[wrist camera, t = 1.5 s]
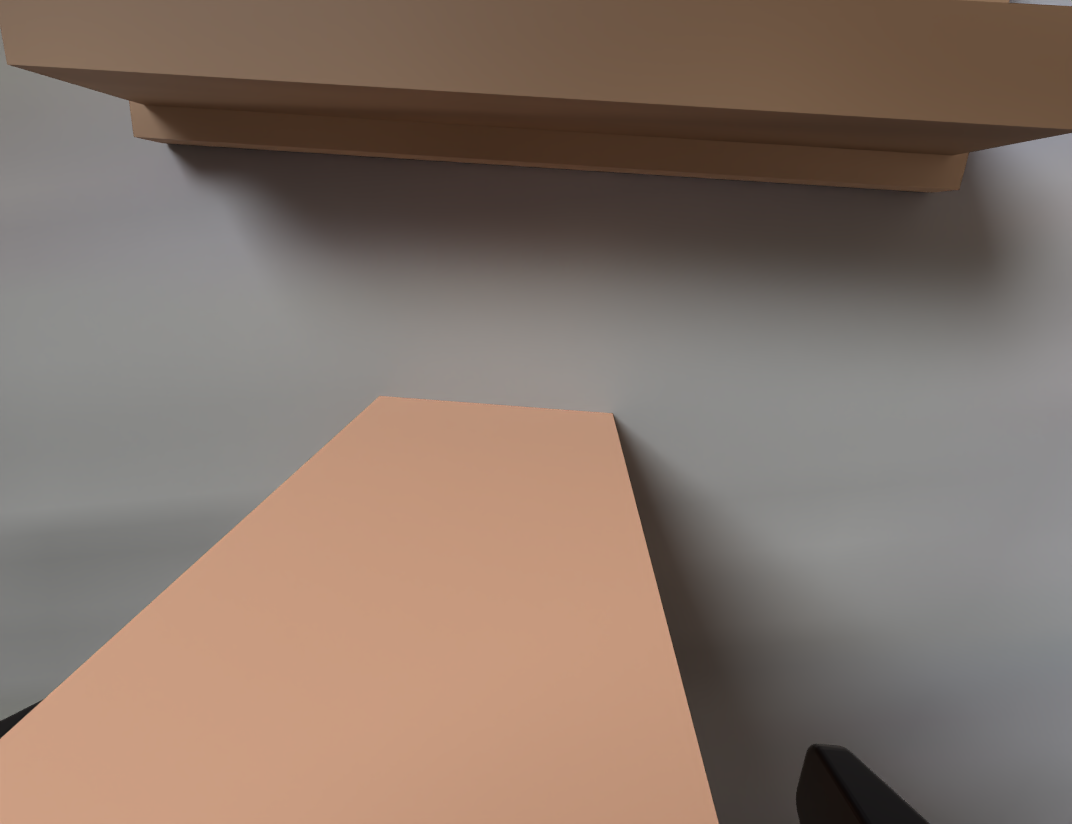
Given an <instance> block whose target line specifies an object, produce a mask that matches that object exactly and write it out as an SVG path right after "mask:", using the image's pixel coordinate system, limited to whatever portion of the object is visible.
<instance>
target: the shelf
mask: <svg viewBox="0 0 1072 824" xmlns="http://www.w3.org/2000/svg"><path fill="white" fill-rule="evenodd" d="M0 28H1V33H2V38H3V44H4V49H5V55H6V60H7V64H8V65H11V66H15V67H18V68H21V69H25V70H28V71H31V72H35V73H38V74H41V75H45V76H48V77H52V78H55V79H58V80H62V81H65V82H68V83H72V84H75V85H79V86H82V87H85V88H89V89H92V90H95V91H99V92H102V93H106V94H109V95H112V96H116V97H119V98H122V99H126V100H129V104H130V111H131V119H132V126H133V134H134V137H137V138H141V139H146V140H151V141H155V142H160V143H169V144H184V145H200V146H215V147H231V148H247V149H262V150H278V151H293V152H309V153H324V154H340V155H355V156H371V157H386V158H402V159H418V160H433V161H449V162H464V163H480V164H495V165H511V166H526V167H542V168H558V169H573V170H589V171H604V172H620V173H635V174H651V175H666V176H682V177H698V178H713V179H729V180H744V181H760V182H775V183H791V184H806V185H822V186H838V187H853V188H869V189H884V190H900V191H915V192H931V193H932V192H942V191H952V190H959V189H960V185H961V181H962V177H963V173H964V170H965V166H966V162H967V158H968V155H969V152H973V151H979V150H984V149H989V148H994V147H1000V146H1005V145H1010V144H1015V143H1020V142H1026V141H1031V140H1036V139H1041V138H1047V137H1052V136H1057V135H1062V134H1068V133H1072V6H1056V5H1038V4H1020V3H1009V0H0Z"/></svg>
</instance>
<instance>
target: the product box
mask: <svg viewBox="0 0 1072 824" xmlns="http://www.w3.org/2000/svg"><path fill="white" fill-rule="evenodd" d="M0 824H719V823H718V819H717V815H716V811H715V807H714V803H713V799H712V795H711V792H710V788H709V784H708V780H707V776H706V772H705V768H704V765H703V761H702V757H701V753H700V749H699V745H698V741H697V738H696V734H695V730H694V726H693V722H692V718H691V714H690V711H689V707H688V703H687V699H686V695H685V691H684V687H683V684H682V680H681V676H680V672H679V668H678V664H677V660H676V657H675V653H674V649H673V645H672V641H671V637H670V633H669V630H668V626H667V622H666V618H665V614H664V610H663V606H662V602H661V599H660V595H659V591H658V587H657V583H656V579H655V575H654V572H653V568H652V564H651V560H650V556H649V552H648V548H647V545H646V541H645V537H644V533H643V529H642V525H641V521H640V518H639V514H638V510H637V506H636V502H635V498H634V494H633V491H632V487H631V483H630V479H629V475H628V471H627V467H626V464H625V460H624V456H623V452H622V448H621V444H620V440H619V437H618V433H617V429H616V425H615V421H614V417H613V413H599V412H586V411H573V410H559V409H546V408H533V407H519V406H506V405H492V404H479V403H466V402H452V401H439V400H426V399H412V398H399V397H386V396H379V397H378V398H377V399H376V400H375V401H374V402H373V403H371V404H370V405H369V406H368V407H367V408H366V409H365V410H364V411H363V412H361V413H360V414H359V415H358V416H357V417H356V418H355V419H354V420H353V421H351V422H350V423H349V424H348V425H347V426H346V427H345V428H344V429H343V430H342V431H340V432H339V433H338V434H337V435H336V436H335V437H334V438H333V439H332V440H330V441H329V442H328V443H327V444H326V445H325V446H324V447H323V448H322V449H320V450H319V451H318V452H317V453H316V454H315V455H314V456H313V457H312V458H311V459H309V460H308V461H307V462H306V463H305V464H304V465H303V466H302V467H301V468H299V469H298V470H297V471H296V472H295V473H294V474H293V475H292V476H291V477H289V478H288V479H287V480H286V481H285V482H284V483H283V484H282V485H281V486H280V487H278V488H277V489H276V490H275V491H274V492H273V493H272V494H271V495H270V496H268V497H267V498H266V499H265V500H264V501H263V502H262V503H261V504H260V505H259V506H257V507H256V508H255V509H254V510H253V511H252V512H251V513H250V514H249V515H247V516H246V517H245V518H244V519H243V520H242V521H241V522H240V523H239V524H237V525H236V526H235V527H234V528H233V529H232V530H231V531H230V532H229V533H228V534H226V535H225V536H224V537H223V538H222V539H221V540H220V541H219V542H218V543H216V544H215V545H214V546H213V547H212V548H211V549H210V550H209V551H208V552H206V553H205V554H204V555H203V556H202V557H201V558H200V559H199V560H198V561H197V562H195V563H194V564H193V565H192V566H191V567H190V568H189V569H188V570H187V571H185V572H184V573H183V574H182V575H181V576H180V577H179V578H178V579H177V580H175V581H174V582H173V583H172V584H171V585H170V586H169V587H168V588H167V589H166V590H164V591H163V592H162V593H161V594H160V595H159V596H158V597H157V598H156V599H154V600H153V601H152V602H151V603H150V604H149V605H148V606H147V607H146V608H145V609H143V610H142V611H141V612H140V613H139V614H138V615H137V616H136V617H135V618H133V619H132V620H131V621H130V622H129V623H128V624H127V625H126V626H125V627H123V628H122V629H121V630H120V631H119V632H118V633H117V634H116V635H115V636H114V637H112V638H111V639H110V640H109V641H108V642H107V643H106V644H105V645H104V646H102V647H101V648H100V649H99V650H98V651H97V652H96V653H95V654H94V655H92V656H91V657H90V658H89V659H88V660H87V661H86V662H85V663H84V664H83V665H81V666H80V667H79V668H78V669H77V670H76V671H75V672H74V673H73V674H71V675H70V676H69V677H68V678H67V679H66V680H65V681H64V682H63V683H61V684H60V685H59V686H58V687H57V688H56V689H55V690H54V691H53V692H52V693H50V694H49V695H48V696H47V697H46V698H45V699H44V700H43V701H42V702H40V703H39V704H38V705H37V706H36V707H35V708H34V709H33V710H32V711H31V712H29V713H28V714H27V715H26V716H25V717H24V718H23V719H22V720H21V721H19V722H18V723H17V724H16V725H15V726H14V727H13V728H12V729H11V730H9V731H8V732H7V733H6V734H5V735H4V736H3V737H2V738H1V739H0Z"/></svg>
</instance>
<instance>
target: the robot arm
mask: <svg viewBox="0 0 1072 824" xmlns="http://www.w3.org/2000/svg"><path fill="white" fill-rule="evenodd" d="M43 700H44V699H43ZM43 700H41V701H39V702H37V703H35V704H33V705H31V706H29V707H27V708H25V709H23V710H22V711H20V712H18V713H16V714H14V715H12V716H10V717H8V718H6V719H4V720H2V721H0V739H1V738H2V737H3V736H4V735H5V734H6V733H7V732H8V731H9V730H11V729H12V728H13V727H14V726H15V725H16V724H17V723H18V722H19V721H21V720H22V719H23V718H24V717H25V716H26V715H27V714H28V713H29V712H31V711H32V710H33V709H34V708H35V707H36V706H37V705H38V704H39V703H40V702H42V701H43ZM796 805H797V812H798V816H799V820H800V824H929V823H928V822H927V821H926V820H925V819H924V818H923V817H922V816H921V815H920V814H918V813H917V812H916V811H915V810H914V809H913V808H912V807H911V806H910V805H909V804H907V803H906V802H905V801H904V800H903V799H902V798H901V797H900V796H899V795H898V794H896V793H895V792H894V791H893V790H892V789H891V788H890V787H889V786H888V785H887V784H885V783H884V782H883V781H882V780H881V779H880V778H879V777H878V776H877V775H876V774H875V773H873V772H872V771H871V770H870V769H869V768H868V767H867V766H866V765H865V764H864V763H862V762H861V761H860V760H859V759H858V758H857V757H856V756H855V755H854V754H853V753H851V752H850V751H849V750H847V749H846V748H844V747H841V746H835V745H824V744H813V745H811V746H810V747H809V748H808V750H807V753H806V756H805V760H804V764H803V768H802V772H801V775H800V779H799V783H798V787H797V792H796Z"/></svg>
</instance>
